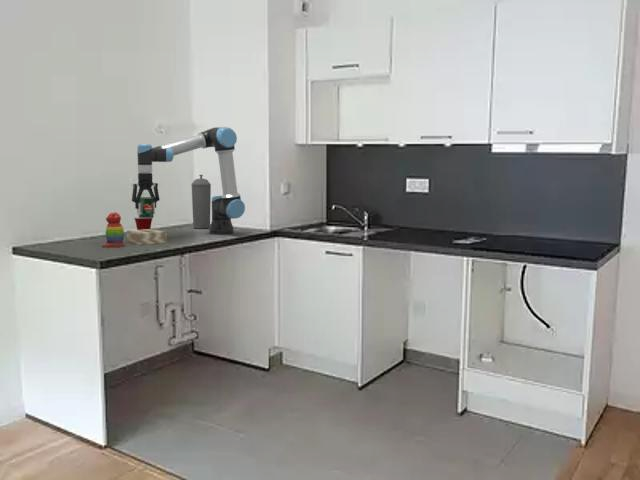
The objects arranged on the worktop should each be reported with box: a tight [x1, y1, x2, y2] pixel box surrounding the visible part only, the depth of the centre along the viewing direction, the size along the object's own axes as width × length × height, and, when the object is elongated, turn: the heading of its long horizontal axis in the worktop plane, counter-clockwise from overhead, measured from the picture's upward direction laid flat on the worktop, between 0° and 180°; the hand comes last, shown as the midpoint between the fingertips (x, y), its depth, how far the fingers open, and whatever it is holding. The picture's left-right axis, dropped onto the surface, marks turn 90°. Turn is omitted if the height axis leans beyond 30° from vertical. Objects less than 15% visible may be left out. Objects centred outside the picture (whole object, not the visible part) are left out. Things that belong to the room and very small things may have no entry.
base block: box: [126, 228, 168, 246], centre depth 343 cm, size 16×16×6 cm
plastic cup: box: [133, 216, 153, 230], centre depth 361 cm, size 11×11×12 cm
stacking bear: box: [102, 212, 125, 248], centre depth 326 cm, size 11×10×18 cm
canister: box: [191, 174, 212, 230], centre depth 405 cm, size 13×13×35 cm
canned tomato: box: [138, 196, 154, 219], centre depth 341 cm, size 8×8×11 cm
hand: (146, 214), depth 341 cm, fingers closed on canned tomato, 8 cm apart
